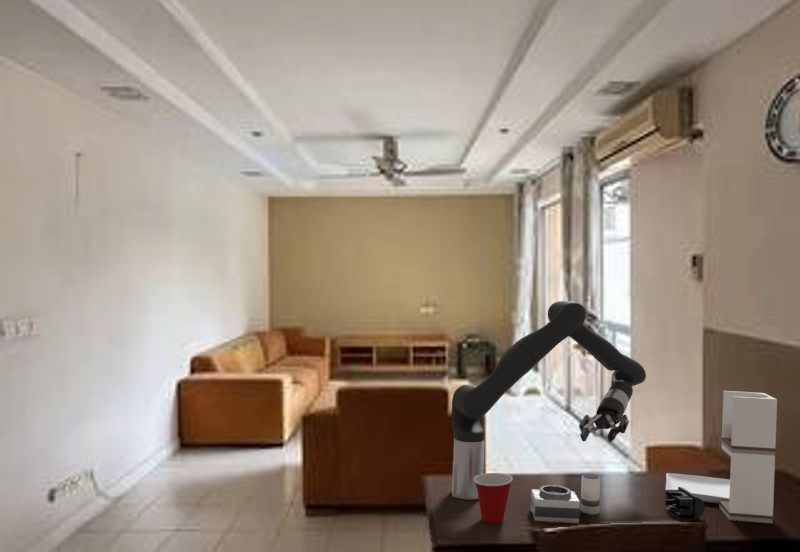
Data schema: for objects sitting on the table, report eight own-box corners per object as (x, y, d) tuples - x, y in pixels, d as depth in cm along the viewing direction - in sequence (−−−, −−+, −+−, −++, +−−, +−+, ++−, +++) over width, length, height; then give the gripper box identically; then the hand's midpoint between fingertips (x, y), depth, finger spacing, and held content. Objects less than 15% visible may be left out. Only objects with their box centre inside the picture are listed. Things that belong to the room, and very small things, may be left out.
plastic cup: (470, 512, 204) (471, 470, 204) (508, 514, 203) (510, 472, 203) (473, 526, 193) (474, 482, 193) (513, 528, 193) (515, 483, 192)
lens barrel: (582, 513, 206) (583, 478, 206) (578, 507, 211) (579, 473, 211) (601, 514, 206) (602, 479, 205) (597, 508, 211) (598, 474, 211)
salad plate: (664, 500, 222) (665, 489, 222) (665, 481, 242) (666, 471, 242) (740, 510, 214) (741, 498, 214) (735, 490, 234) (735, 479, 234)
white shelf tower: (760, 510, 213) (764, 393, 213) (772, 523, 203) (777, 399, 202) (719, 507, 215) (723, 390, 214) (729, 519, 204) (734, 396, 204)
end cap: (704, 521, 203) (705, 497, 203) (680, 521, 202) (681, 497, 202) (687, 509, 213) (688, 486, 213) (664, 509, 212) (665, 486, 212)
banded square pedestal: (534, 520, 199) (535, 493, 199) (530, 509, 208) (531, 483, 208) (579, 523, 198) (580, 496, 198) (573, 511, 207) (574, 486, 207)
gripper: (588, 396, 230) (570, 429, 219) (631, 396, 221) (614, 429, 209) (596, 415, 232) (578, 448, 221) (638, 415, 223) (622, 450, 212)
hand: (595, 439), depth 215 cm, fingers open, 8 cm apart
